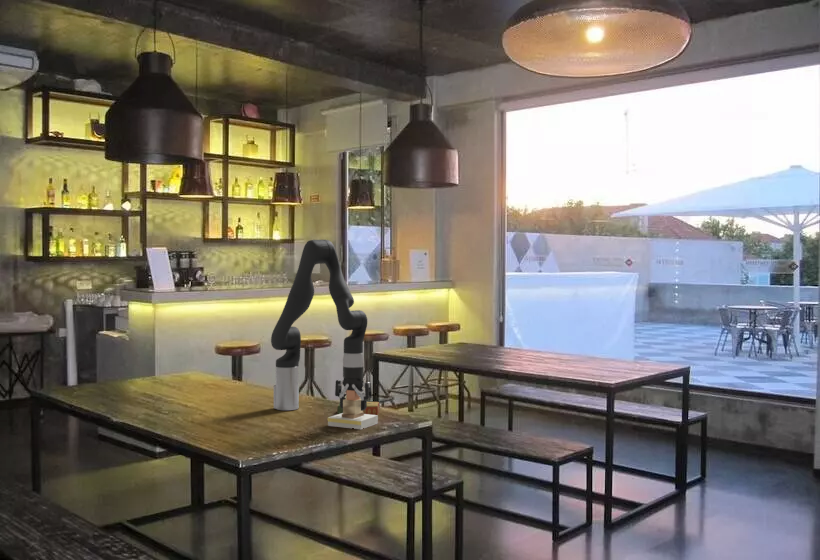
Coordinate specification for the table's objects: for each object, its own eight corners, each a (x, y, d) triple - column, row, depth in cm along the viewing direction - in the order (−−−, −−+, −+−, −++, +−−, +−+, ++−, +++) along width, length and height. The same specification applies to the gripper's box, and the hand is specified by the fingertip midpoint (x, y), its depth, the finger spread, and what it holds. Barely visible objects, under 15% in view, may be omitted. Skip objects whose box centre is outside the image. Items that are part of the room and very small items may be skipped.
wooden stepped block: (341, 417, 281) (341, 400, 281) (351, 414, 287) (351, 397, 287) (353, 418, 279) (353, 401, 278) (363, 415, 285) (363, 398, 285)
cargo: (346, 399, 282) (346, 390, 282) (351, 398, 285) (351, 388, 285) (354, 400, 280) (354, 390, 280) (359, 399, 284) (359, 389, 284)
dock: (327, 425, 281) (327, 417, 281) (345, 419, 291) (345, 411, 291) (360, 429, 274) (360, 421, 274) (377, 423, 285) (377, 415, 285)
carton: (377, 416, 301) (377, 405, 301) (336, 415, 301) (336, 404, 301) (379, 412, 309) (379, 401, 309) (339, 411, 310) (339, 401, 309)
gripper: (331, 365, 282) (331, 409, 283) (364, 367, 276) (364, 412, 276) (342, 362, 289) (342, 406, 289) (375, 365, 282) (375, 409, 283)
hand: (353, 409), depth 283 cm, fingers open, 8 cm apart
